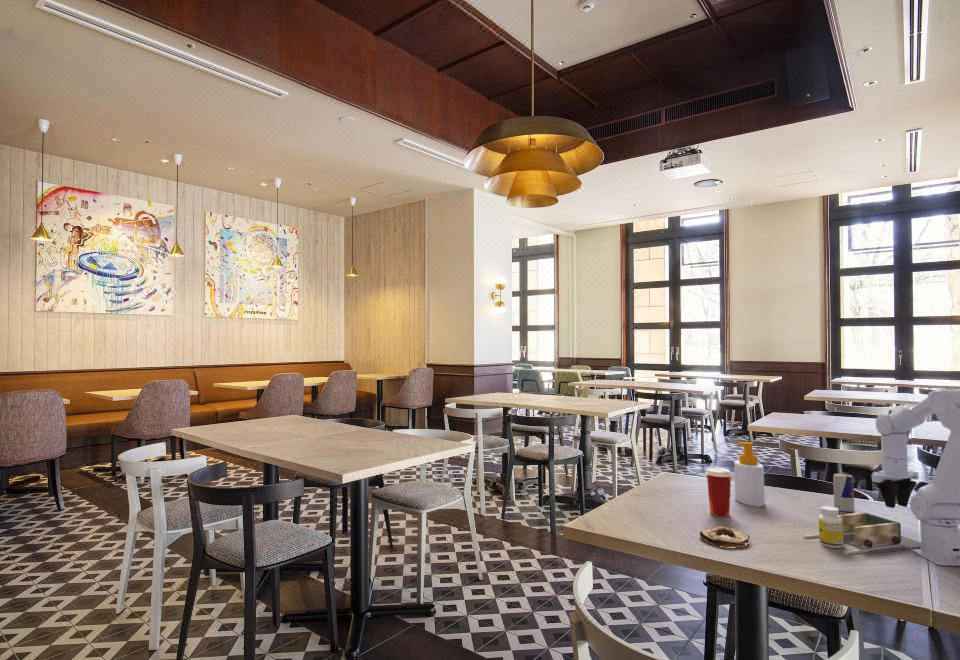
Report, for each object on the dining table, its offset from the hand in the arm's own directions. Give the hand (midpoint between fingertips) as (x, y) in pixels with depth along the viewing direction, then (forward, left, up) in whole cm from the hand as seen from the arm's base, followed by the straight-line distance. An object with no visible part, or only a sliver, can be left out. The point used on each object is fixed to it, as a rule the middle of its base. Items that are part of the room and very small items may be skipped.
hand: (896, 506), depth 151 cm
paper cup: (+18, +42, -9) cm, 47 cm away
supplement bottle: (-8, +22, -9) cm, 25 cm away
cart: (-4, +12, -8) cm, 15 cm away
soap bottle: (+34, +27, -9) cm, 44 cm away
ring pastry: (-6, +49, -9) cm, 50 cm away
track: (-4, +11, -8) cm, 15 cm away
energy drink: (+22, +2, -9) cm, 24 cm away
